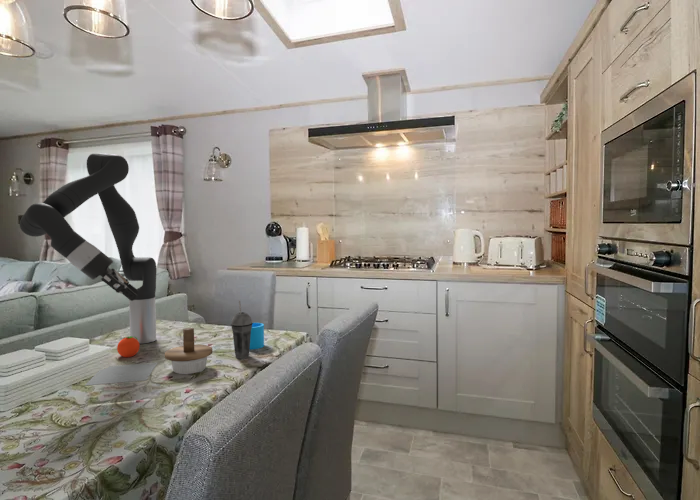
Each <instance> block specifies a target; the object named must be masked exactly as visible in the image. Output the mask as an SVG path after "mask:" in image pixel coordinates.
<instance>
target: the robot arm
mask: <svg viewBox="0 0 700 500" xmlns="http://www.w3.org/2000/svg"><path fill="white" fill-rule="evenodd" d="M86 169H87V174H88V175H87V176H85V177H84V176H83V177H81V178H78V179H76V180H73V181H71V182H68V183H65V184H63V185H62V186H60V187H59V188H57V190H55V191H54V192H52V193H50V194H49V195H48V196H47V197H46V198H45V200H44V201H43V202H35V203H33V204H31V205H30V206H29V207H28V208H27V209H26V211H25V212H24V214H23V215H22V217H21V218H20V221H19V228H20V229H21V231H22V232H23V233H24V234H25V235H26V236H29V237H37V238H38V237H42V236H45V235H48V236H49V237H50V245H51V247H52V249H54V251H56V252H57V253H59V254H60V255H61V256H62V257H64V258H65V259H66V260H67V261H69V262H70V264H71V265H72V266H74V267H75V268H77V270H79V271H80V272H82V273H83V274H84V275H85V276H87V277H88V278H89V279H90V280H93V281H95V280H96V279H97V278H98V277H101V282H103V283H105V284H106V285H107V286H108V287H110V288H111V289H113V291H114V292H116V293H117V294H122V295H123V296H124V297H126V298H127V299H128V305H129V309H128V311H129V337H133V338H135V337H136V338H137V339H138V342H139V344H140V345H141V344H148V343H152V342H154V341H157V314H156V313H157V312H156V310H157V309H156V290H157V263H156V260H155V259H154V258H153V257H150V256H148V257H143V256H140V257H138V256H137V257H136V256H135V255H134V252H133V247H134V246H133V245H134V243H135V241H136V239H137V237H138V235H139V231H140V223H139V221H138V217H137V214H136V212H135V210H134V208H133V206H131V205H130V204H129V202H127V200H126V199H125V198H124V197H123V196H122V195H121V194H120V193H119V191H118V190H117V188H116V187H115V185H117V184H118V183H121V182H122V181H124V180H125V179H126V178H127V176H128V175H129V170H130V167H129V163H128V161H127V159H126V158H125V157H124V156H122V155H120V154H114V153H102V152H94V153H93V152H92V153H90V154H89V155H88V157H87V159H86ZM96 195H98V198H99V199H100V202H101V204H102V205H101V206H102V207H103V210H104V212H105V216H106V219H107V222H108V226H109V229H110V232H111V233H112V237H113V239H114V242H115V244H116V247H117V252H118V255H119V260H120V264H121V269H122V272H123V275H122V274H121V273H119V272H118V271H117V270H116V269H114V268H110V266H111V265H112V264H113V263H114V260H112V259H111V258H110V257H109V256H108V255H106V253H104V252H103V251H101V249H99V248H98V247H96V246H95V245H94V244H93V243H90V242H89V241H87V240H86V239H85V238H84V237H83V236H82V235H80V234H78V233H77V232H76V231H75V230H74V229H73V228H72V226H71V225H70V223H69V222H68V221H67V220H66V219H65V217H67V216H68V215H70V214H71V213H73V211H75V210H76V209H77V208H79V207H80V206H82V205H83V204H84V203H85V202H87V201H88V200H89V199H91V198H92V197H94V196H96ZM130 281H131V282H132V281H133V282H136V281H137V282H141V281H142V285H141V286H140V287H138V288H136V287H135V286H133V285H132V284H131V283H130ZM136 338H135V339H136Z"/></svg>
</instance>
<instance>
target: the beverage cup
mask: <svg viewBox="0 0 700 500" xmlns="http://www.w3.org/2000/svg"><path fill="white" fill-rule="evenodd" d="M238 307H239V312H238V313H236V314H235V315H233V317H232V319H231V324H230V327H231V331H232V337H233V339H232V340H233V346H234V354H235V358H236V359H239V360H242V359H243V360H244V359H248V358H249V357H250V352H251V351H250V350H251V349H250V337H251V329H252V324H253V323H254V322H253V319H252V317H251V316H250V315H249V314H248V313H247V312H242V307H241V299H239V300H238Z"/></svg>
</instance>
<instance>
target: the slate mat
mask: <svg viewBox="0 0 700 500" xmlns="http://www.w3.org/2000/svg"><path fill="white" fill-rule="evenodd" d="M157 364H158V362H149V363H133V364H121V365H108V366H109V367H108V368H106V369H103V370H101V369H99V371H97V372H96V373H95V374H94V375H93V376H92V377H91V378H90V379H89V380H88V381H87V382H86V383H85V384H84V386H85V387H86V386H97V385H106V384H110V385H111V384H120V383H129V382H132V383H133V382H143V381H147V380H148V378H149V377H150V376H151V374H152V372H153V371H154V370H155V368H156V366H157Z"/></svg>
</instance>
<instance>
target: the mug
mask: <svg viewBox="0 0 700 500" xmlns="http://www.w3.org/2000/svg"><path fill="white" fill-rule="evenodd" d="M252 323H253V324H252V329H251V337H250V350H258V349H263V347H264V346H265V324H264V323H261V322H252Z"/></svg>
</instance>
